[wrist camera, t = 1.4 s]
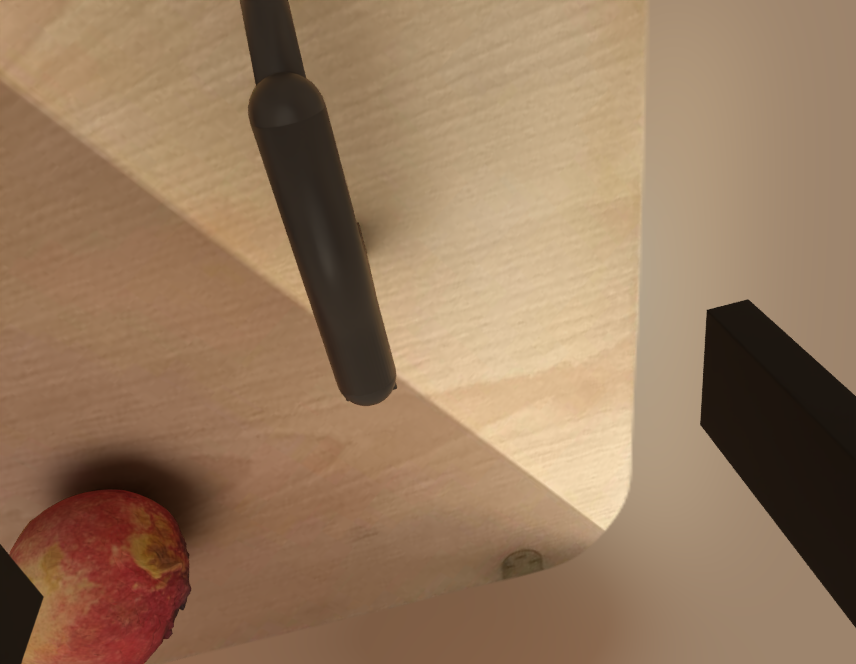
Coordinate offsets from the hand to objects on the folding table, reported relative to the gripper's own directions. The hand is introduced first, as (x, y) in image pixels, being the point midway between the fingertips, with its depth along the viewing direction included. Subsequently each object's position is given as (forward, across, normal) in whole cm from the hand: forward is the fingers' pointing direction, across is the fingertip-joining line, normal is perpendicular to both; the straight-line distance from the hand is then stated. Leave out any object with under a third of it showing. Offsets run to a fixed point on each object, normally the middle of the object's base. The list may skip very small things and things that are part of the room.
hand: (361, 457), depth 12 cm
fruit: (+17, -14, -15) cm, 26 cm away
